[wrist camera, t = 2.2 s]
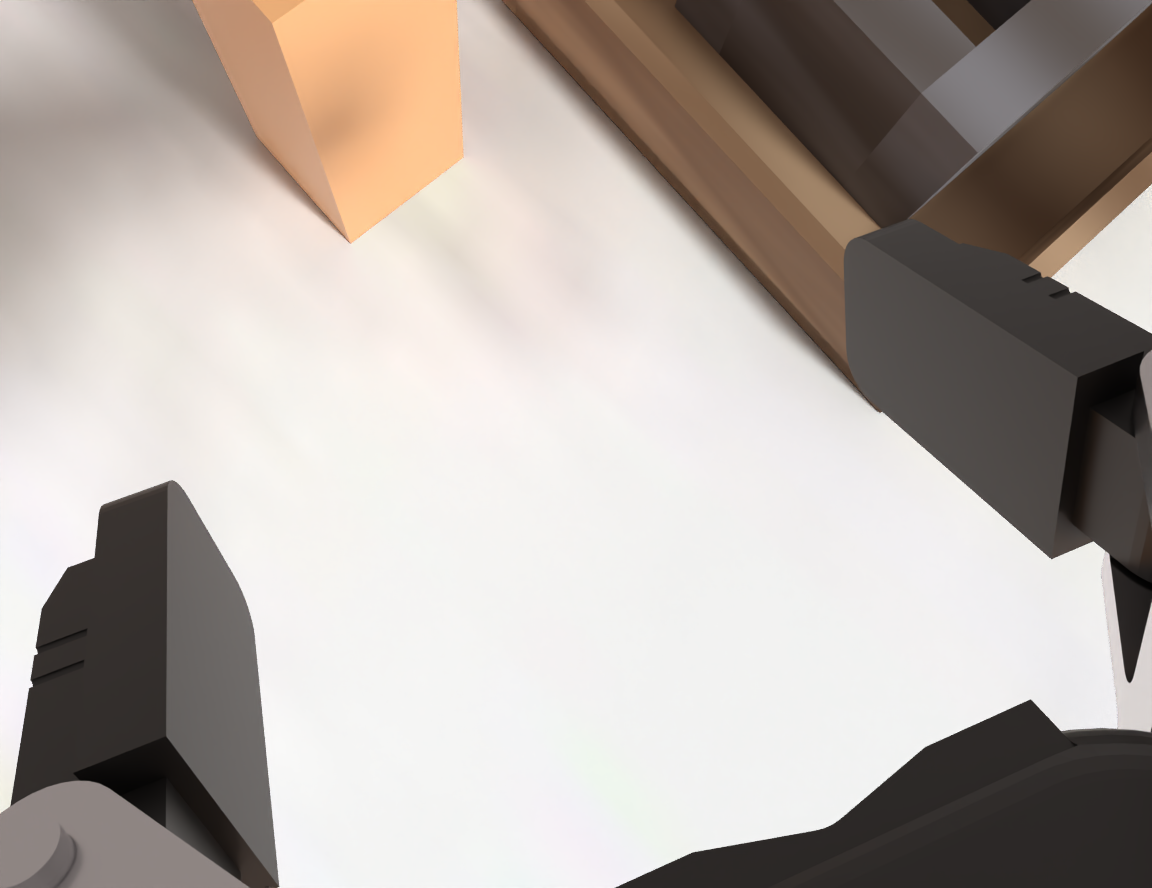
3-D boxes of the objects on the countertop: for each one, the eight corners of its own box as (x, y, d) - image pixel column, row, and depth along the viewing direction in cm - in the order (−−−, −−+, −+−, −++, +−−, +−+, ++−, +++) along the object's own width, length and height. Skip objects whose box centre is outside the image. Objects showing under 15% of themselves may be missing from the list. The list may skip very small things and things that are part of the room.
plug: (370, 53, 27) (291, -345, 16) (463, 157, 27) (449, -175, 16) (256, 136, 27) (87, -220, 15) (350, 243, 26) (250, -40, 15)
